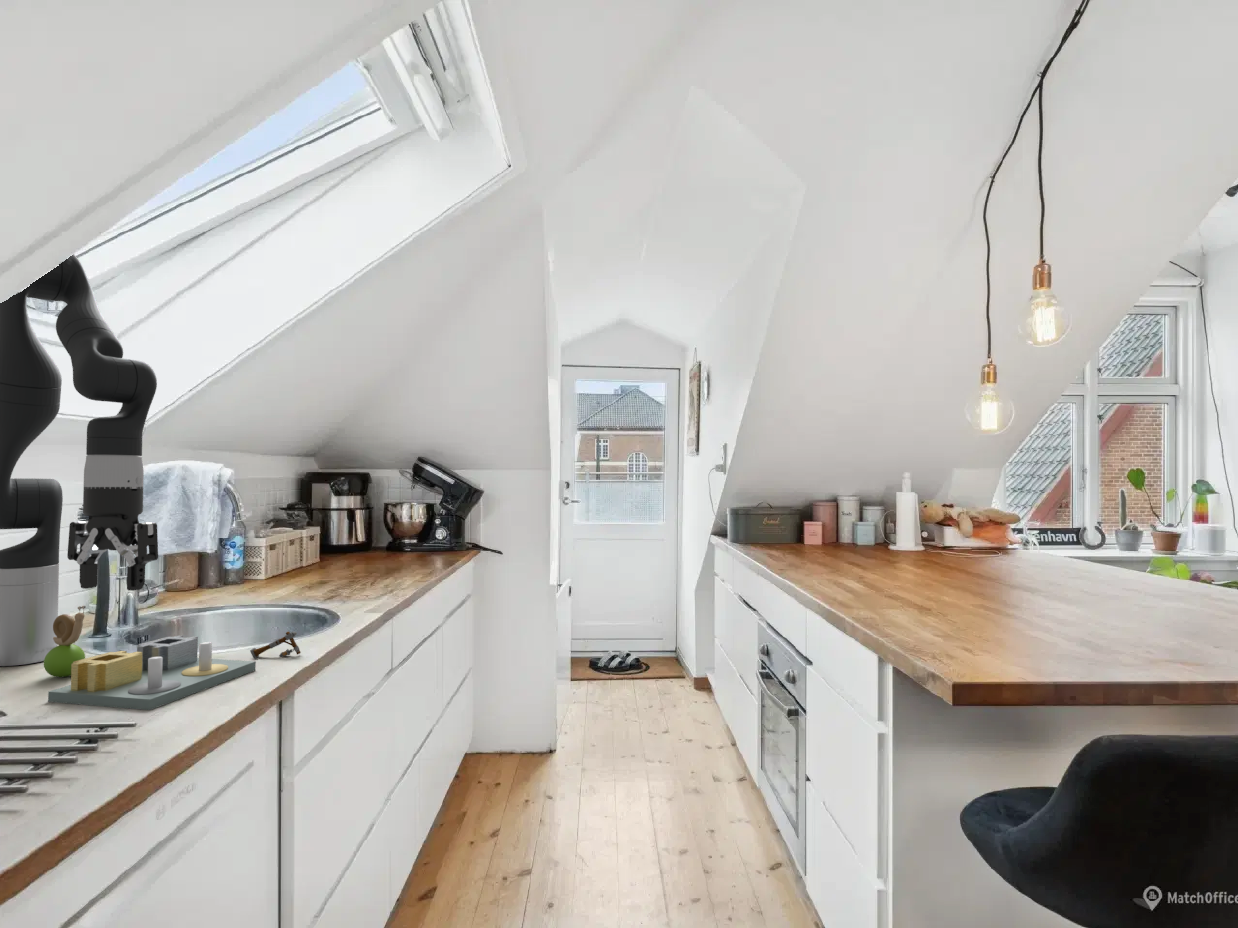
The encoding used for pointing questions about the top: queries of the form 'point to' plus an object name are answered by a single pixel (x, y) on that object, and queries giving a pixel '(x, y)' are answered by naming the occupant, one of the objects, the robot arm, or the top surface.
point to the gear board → (153, 698)
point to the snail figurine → (65, 645)
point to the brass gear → (106, 671)
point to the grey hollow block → (170, 651)
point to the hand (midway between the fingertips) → (112, 588)
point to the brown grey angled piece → (288, 636)
